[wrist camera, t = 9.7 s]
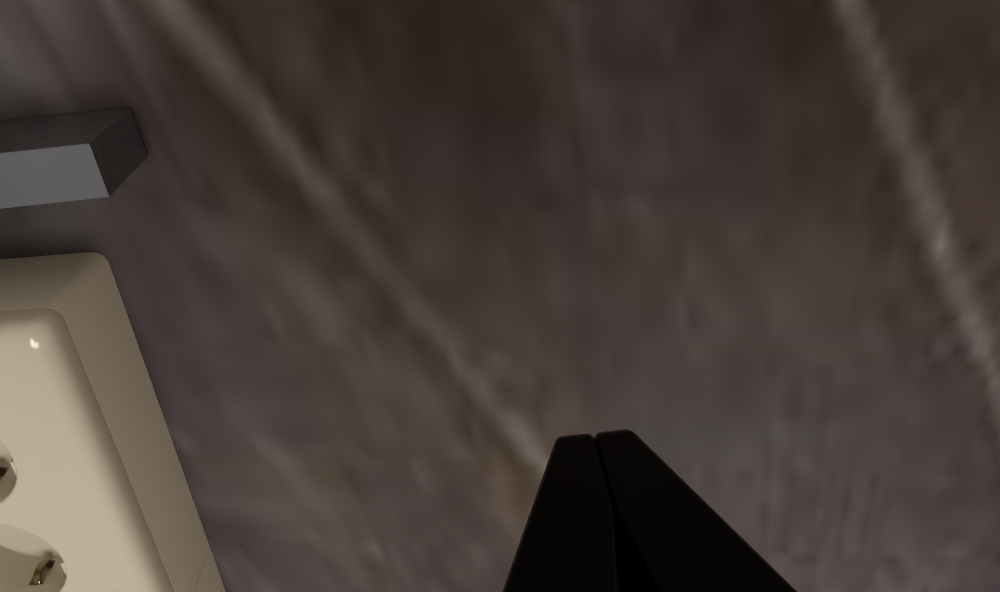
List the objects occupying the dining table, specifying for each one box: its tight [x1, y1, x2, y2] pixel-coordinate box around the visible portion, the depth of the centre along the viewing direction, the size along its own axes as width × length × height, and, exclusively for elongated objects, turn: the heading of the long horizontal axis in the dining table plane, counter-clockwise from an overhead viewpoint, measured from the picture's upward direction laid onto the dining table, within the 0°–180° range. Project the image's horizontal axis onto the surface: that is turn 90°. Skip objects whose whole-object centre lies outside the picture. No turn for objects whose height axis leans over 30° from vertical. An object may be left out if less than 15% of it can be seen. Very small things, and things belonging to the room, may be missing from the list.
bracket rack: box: [0, 107, 147, 209], centre depth 23 cm, size 23×11×2 cm, turn 5°
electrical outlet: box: [0, 252, 226, 592], centre depth 24 cm, size 7×4×18 cm
